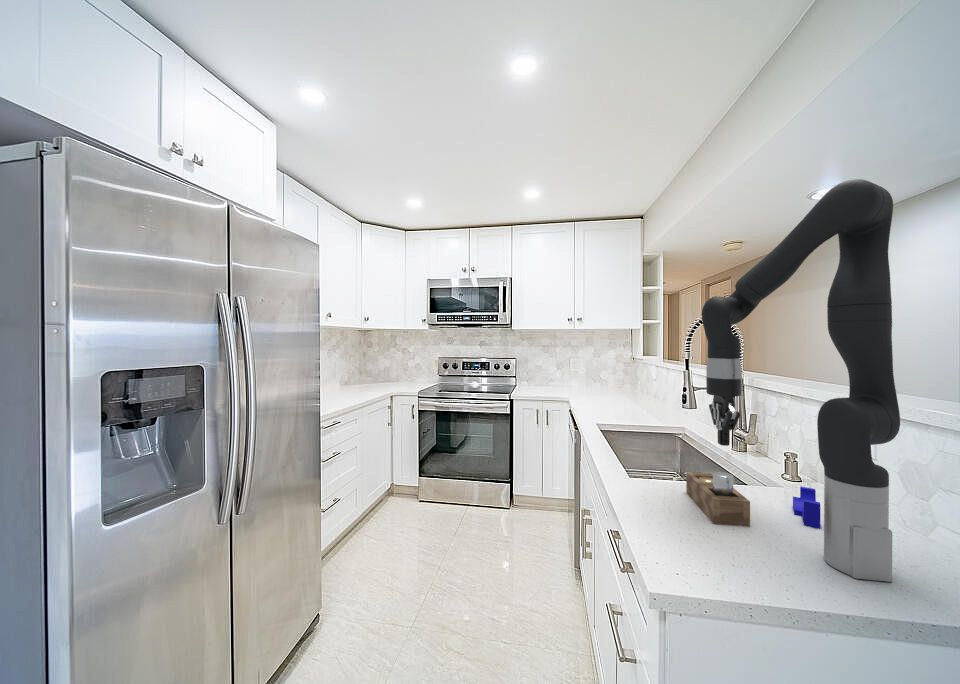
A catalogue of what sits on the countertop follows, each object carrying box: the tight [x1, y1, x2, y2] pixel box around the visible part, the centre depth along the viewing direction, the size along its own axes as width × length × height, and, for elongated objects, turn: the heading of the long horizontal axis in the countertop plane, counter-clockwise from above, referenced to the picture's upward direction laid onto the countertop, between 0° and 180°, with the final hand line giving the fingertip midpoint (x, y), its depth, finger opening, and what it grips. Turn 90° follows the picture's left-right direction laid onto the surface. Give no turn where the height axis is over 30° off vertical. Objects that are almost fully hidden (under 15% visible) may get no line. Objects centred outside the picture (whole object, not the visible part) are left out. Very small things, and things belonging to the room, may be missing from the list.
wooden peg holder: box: [685, 471, 751, 528], centre depth 105 cm, size 20×8×6 cm, turn 170°
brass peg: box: [699, 477, 713, 482], centre depth 110 cm, size 4×4×6 cm
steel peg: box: [712, 471, 734, 497], centre depth 101 cm, size 4×4×6 cm
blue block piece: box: [792, 485, 821, 530], centre depth 100 cm, size 12×4×6 cm, turn 145°
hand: (723, 444), depth 100 cm, fingers closed
